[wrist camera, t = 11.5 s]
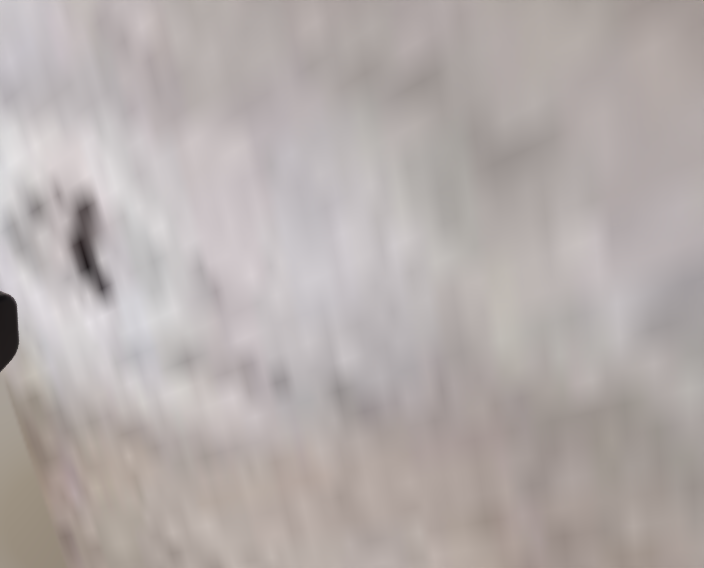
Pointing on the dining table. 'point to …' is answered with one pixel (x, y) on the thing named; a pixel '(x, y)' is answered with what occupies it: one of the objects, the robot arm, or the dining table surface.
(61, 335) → the dining table surface
